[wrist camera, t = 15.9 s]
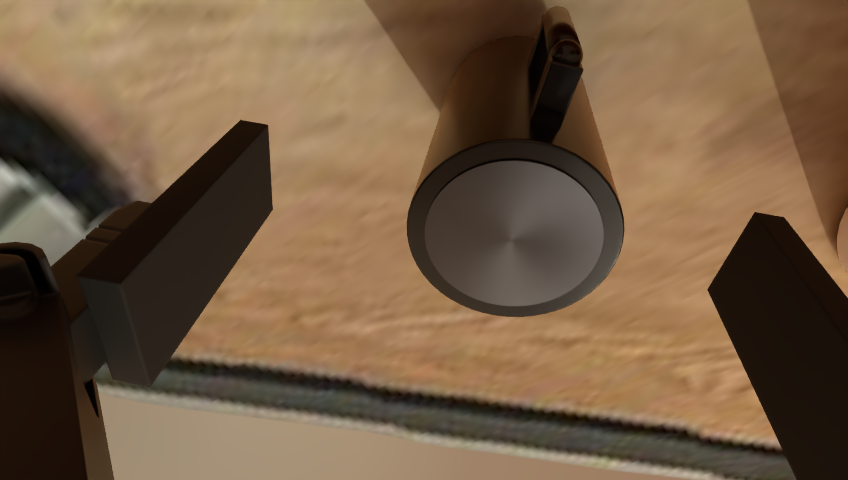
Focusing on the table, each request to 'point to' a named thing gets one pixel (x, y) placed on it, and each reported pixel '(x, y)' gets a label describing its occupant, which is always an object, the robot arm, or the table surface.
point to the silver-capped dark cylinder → (517, 181)
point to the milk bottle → (843, 241)
